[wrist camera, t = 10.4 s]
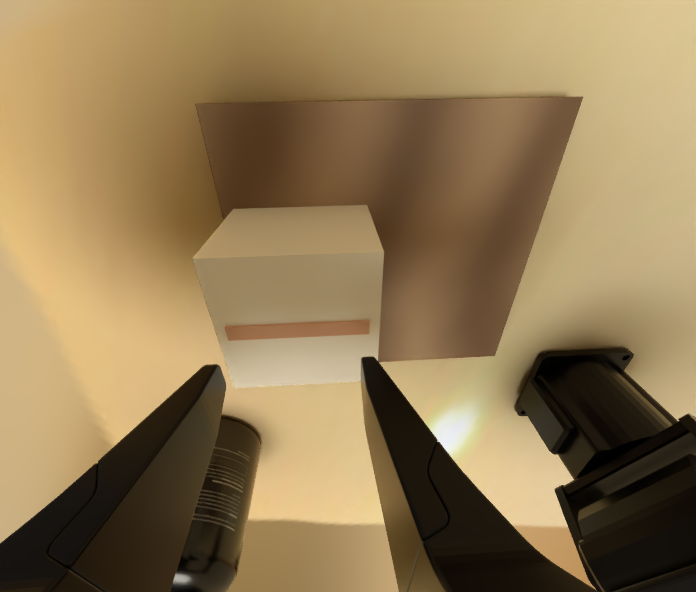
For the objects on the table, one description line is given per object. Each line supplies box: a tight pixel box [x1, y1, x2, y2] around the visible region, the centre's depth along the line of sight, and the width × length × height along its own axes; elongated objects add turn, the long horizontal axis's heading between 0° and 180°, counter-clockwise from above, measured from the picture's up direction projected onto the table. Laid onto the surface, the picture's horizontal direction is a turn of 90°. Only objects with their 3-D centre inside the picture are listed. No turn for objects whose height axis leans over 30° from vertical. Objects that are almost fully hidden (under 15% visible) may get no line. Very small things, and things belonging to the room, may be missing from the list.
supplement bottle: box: [170, 418, 261, 592], centre depth 20 cm, size 7×7×12 cm
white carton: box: [192, 205, 384, 388], centre depth 13 cm, size 6×6×5 cm
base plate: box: [196, 97, 583, 362], centre depth 16 cm, size 15×14×1 cm
